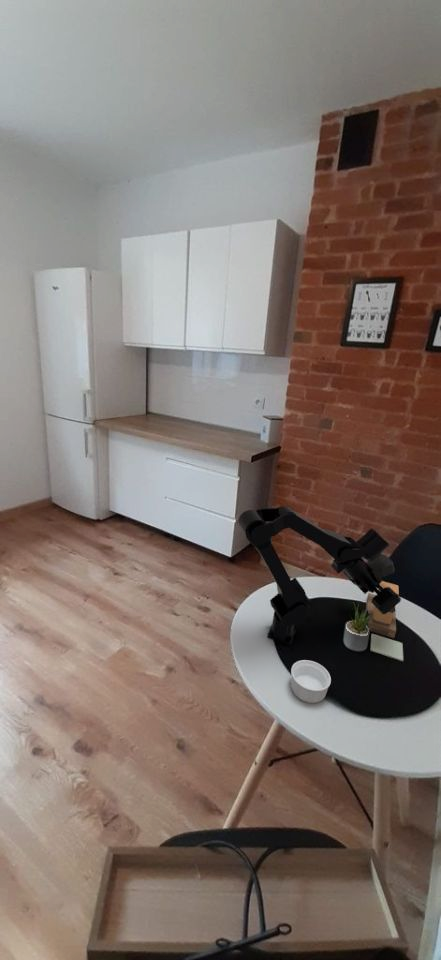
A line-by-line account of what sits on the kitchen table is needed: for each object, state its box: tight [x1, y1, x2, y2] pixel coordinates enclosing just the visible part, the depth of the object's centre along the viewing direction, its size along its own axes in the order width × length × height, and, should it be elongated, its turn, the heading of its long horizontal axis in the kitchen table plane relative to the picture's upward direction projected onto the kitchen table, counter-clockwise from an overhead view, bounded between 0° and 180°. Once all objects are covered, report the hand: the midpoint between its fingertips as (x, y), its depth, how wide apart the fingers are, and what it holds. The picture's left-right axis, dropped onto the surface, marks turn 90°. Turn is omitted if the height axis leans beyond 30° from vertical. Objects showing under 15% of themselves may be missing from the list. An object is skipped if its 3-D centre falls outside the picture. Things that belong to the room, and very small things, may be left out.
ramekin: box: [290, 659, 332, 704], centre depth 89 cm, size 9×9×4 cm
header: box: [365, 592, 397, 639], centre depth 117 cm, size 16×8×2 cm, turn 158°
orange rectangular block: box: [373, 580, 400, 625], centre depth 112 cm, size 5×5×13 cm
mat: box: [370, 633, 404, 662], centre depth 105 cm, size 7×8×1 cm
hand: (383, 601), depth 111 cm, fingers open, 9 cm apart
